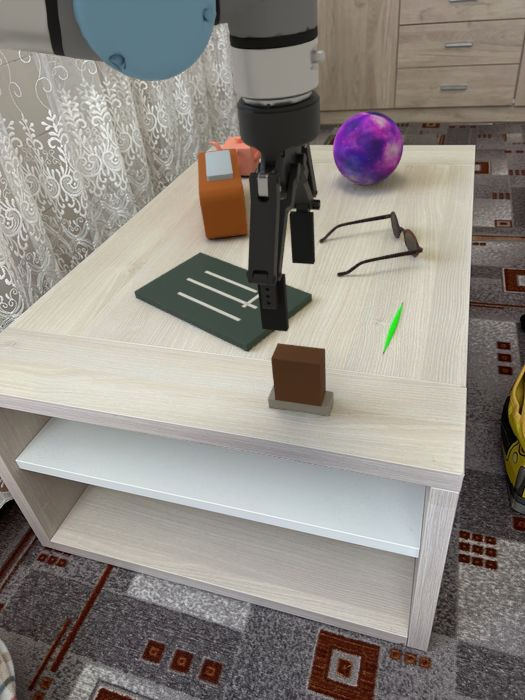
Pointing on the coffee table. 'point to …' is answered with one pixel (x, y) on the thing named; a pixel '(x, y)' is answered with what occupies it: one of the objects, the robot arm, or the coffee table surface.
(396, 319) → the leaf
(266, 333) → the chalkboard
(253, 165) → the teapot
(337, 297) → the coffee table surface
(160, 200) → the coffee table surface
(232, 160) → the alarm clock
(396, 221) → the eyeglasses
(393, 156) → the decorative orb
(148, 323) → the coffee table surface
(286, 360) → the eraser
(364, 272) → the coffee table surface
